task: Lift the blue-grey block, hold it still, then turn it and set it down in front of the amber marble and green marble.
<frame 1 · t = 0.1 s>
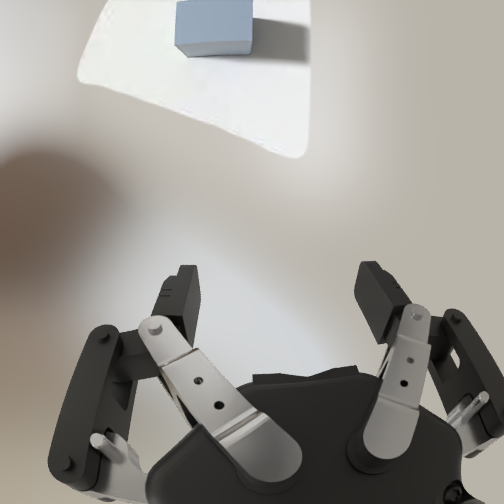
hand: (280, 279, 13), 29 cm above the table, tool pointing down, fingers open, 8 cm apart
blue-grey block: (218, 35, 29), on the table
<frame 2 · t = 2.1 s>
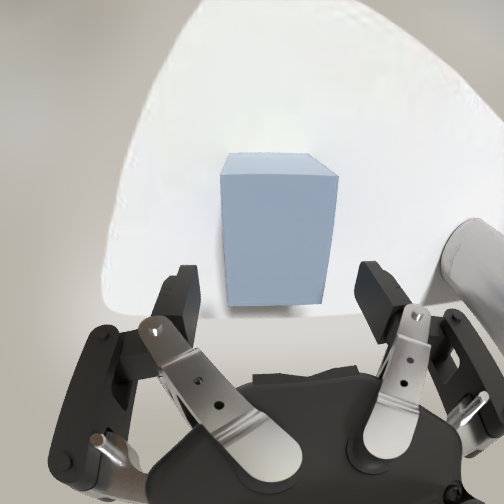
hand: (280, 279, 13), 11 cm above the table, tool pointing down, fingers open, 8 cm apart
blue-grey block: (268, 203, 23), on the table
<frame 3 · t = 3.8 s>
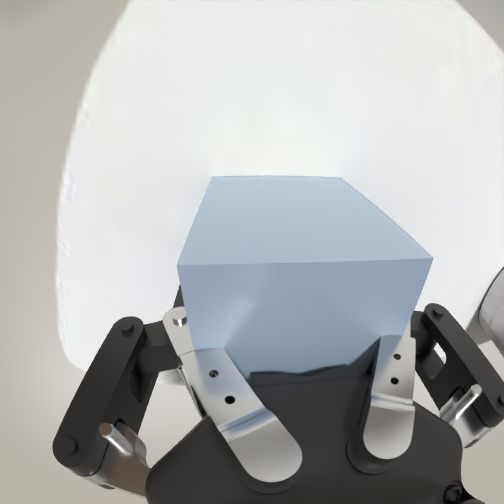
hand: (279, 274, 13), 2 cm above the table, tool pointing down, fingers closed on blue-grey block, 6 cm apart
blue-grey block: (275, 254, 15), on the table, touching gripper
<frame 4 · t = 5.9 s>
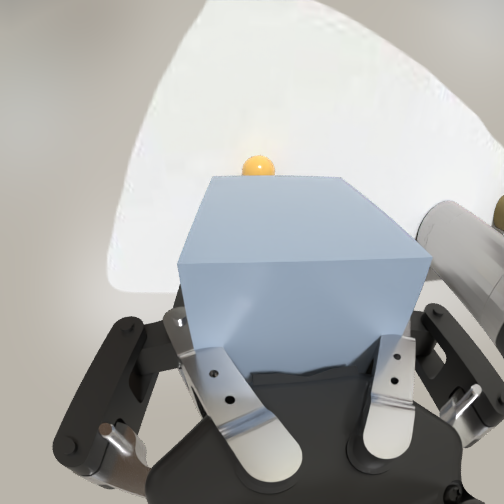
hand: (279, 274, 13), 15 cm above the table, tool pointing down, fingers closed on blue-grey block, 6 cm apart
blue-grey block: (275, 254, 15), point 13 cm above the table, touching gripper
cork: (502, 211, 29), on the table
amber marble: (258, 171, 24), point 1 cm above the table
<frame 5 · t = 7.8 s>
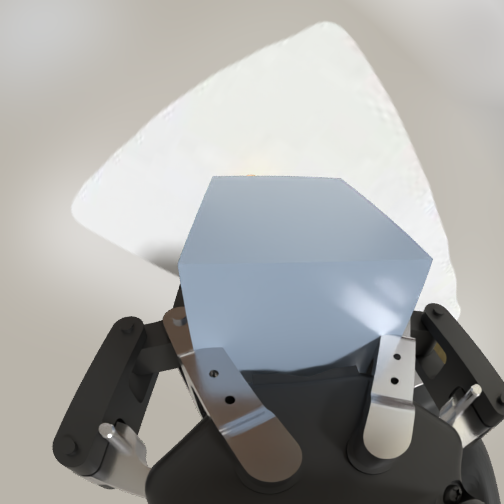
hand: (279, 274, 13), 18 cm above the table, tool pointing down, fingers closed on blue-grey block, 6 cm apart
blue-grey block: (275, 254, 15), point 16 cm above the table, touching gripper
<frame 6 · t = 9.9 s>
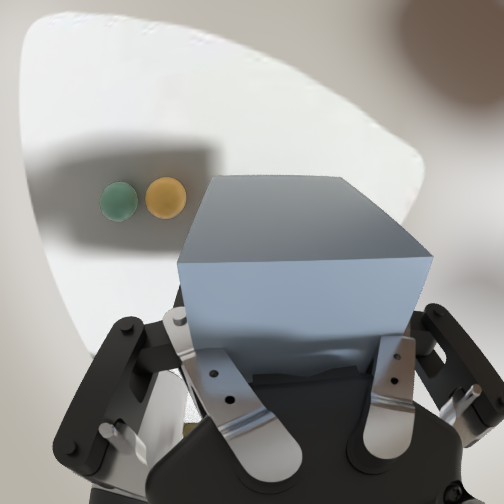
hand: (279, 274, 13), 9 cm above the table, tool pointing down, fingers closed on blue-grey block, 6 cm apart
green marble: (118, 201, 18), point 1 cm above the table
blue-grey block: (275, 254, 15), point 7 cm above the table, touching gripper
amber marble: (165, 198, 18), point 1 cm above the table
when the fingers open (3 cm above the table, at t = 11.9 s): blue-grey block drops 1 cm, on the table.
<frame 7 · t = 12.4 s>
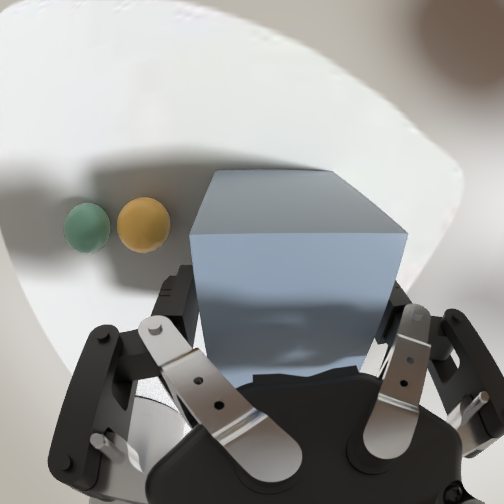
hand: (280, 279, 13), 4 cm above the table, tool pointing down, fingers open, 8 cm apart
green marble: (86, 228, 14), point 1 cm above the table
blue-grey block: (273, 242, 16), on the table
amber marble: (143, 225, 14), point 1 cm above the table
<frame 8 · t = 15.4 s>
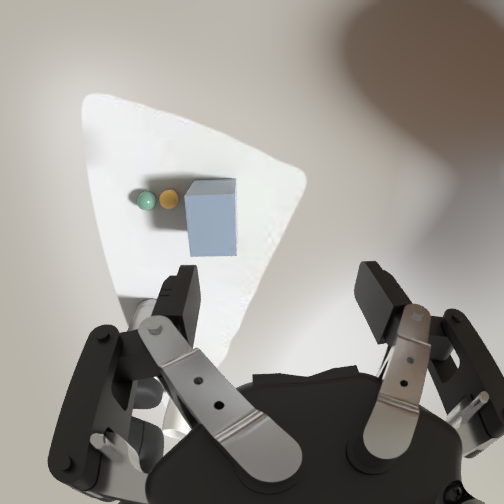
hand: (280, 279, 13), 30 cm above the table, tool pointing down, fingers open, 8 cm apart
drinking glass: (181, 387, 67), on the table
green marble: (146, 200, 40), point 1 cm above the table
blue-grey block: (216, 206, 43), on the table
amber marble: (168, 199, 40), point 1 cm above the table
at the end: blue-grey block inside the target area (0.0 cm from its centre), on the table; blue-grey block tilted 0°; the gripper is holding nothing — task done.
